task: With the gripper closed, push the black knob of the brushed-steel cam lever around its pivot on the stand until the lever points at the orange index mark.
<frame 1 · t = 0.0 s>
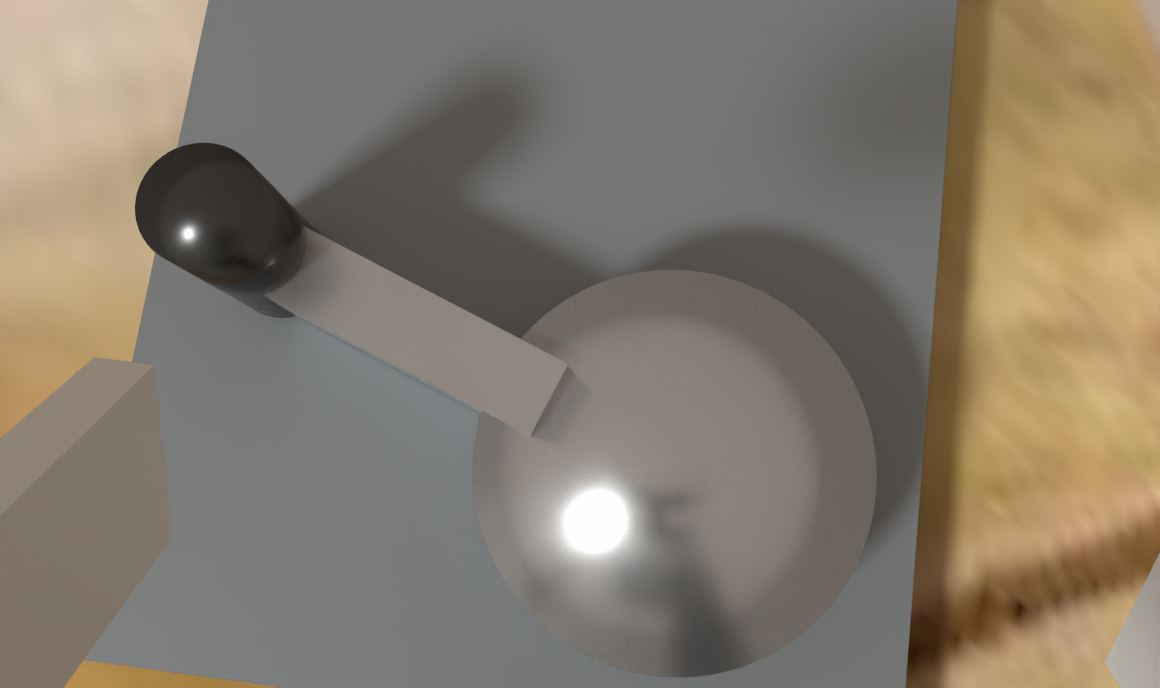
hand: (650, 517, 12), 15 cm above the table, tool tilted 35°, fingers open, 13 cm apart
stand: (658, 470, 27), on the table
cam lever: (523, 385, 23), point 5 cm above the table, hinge at 70.0°
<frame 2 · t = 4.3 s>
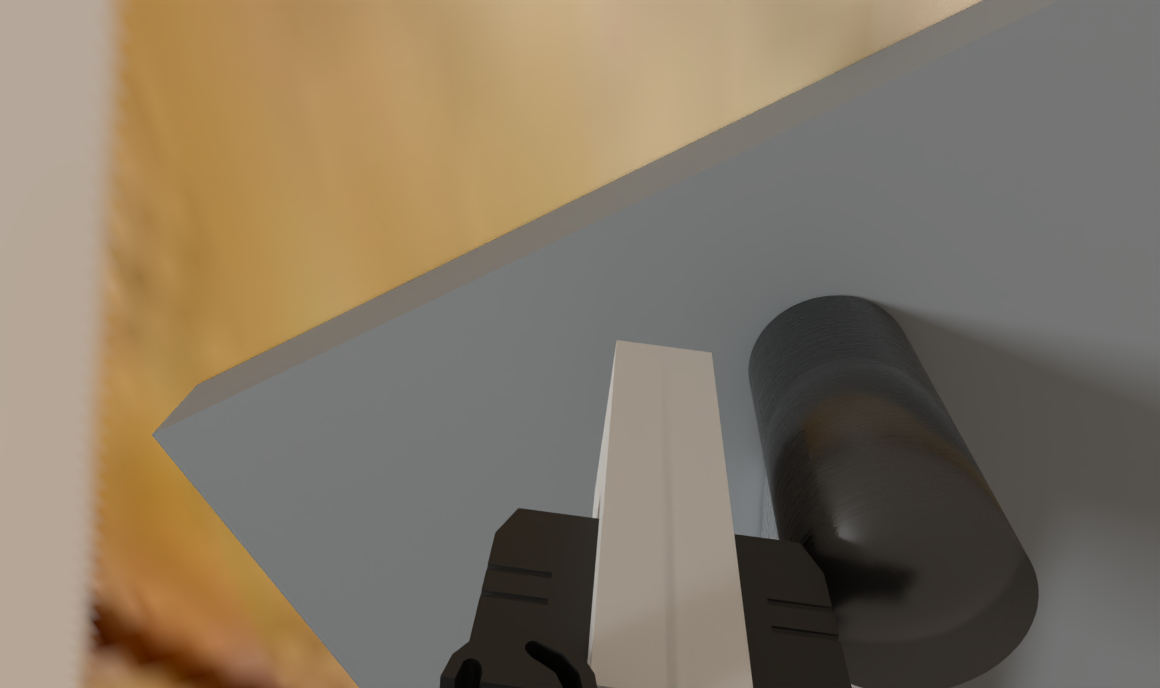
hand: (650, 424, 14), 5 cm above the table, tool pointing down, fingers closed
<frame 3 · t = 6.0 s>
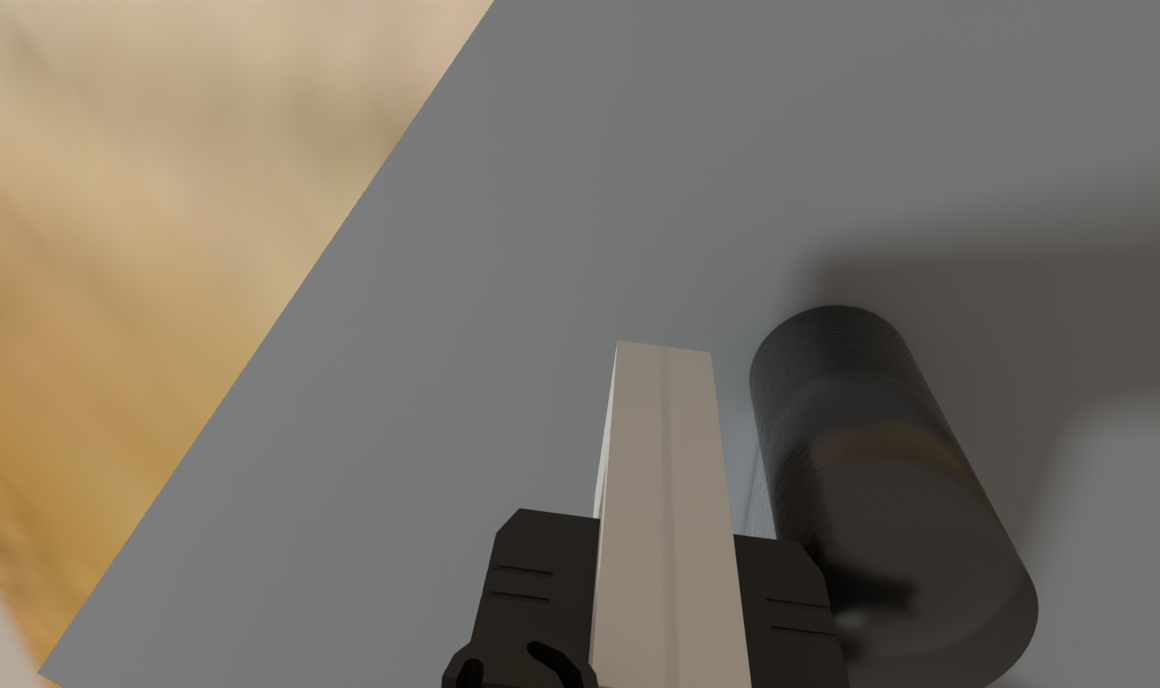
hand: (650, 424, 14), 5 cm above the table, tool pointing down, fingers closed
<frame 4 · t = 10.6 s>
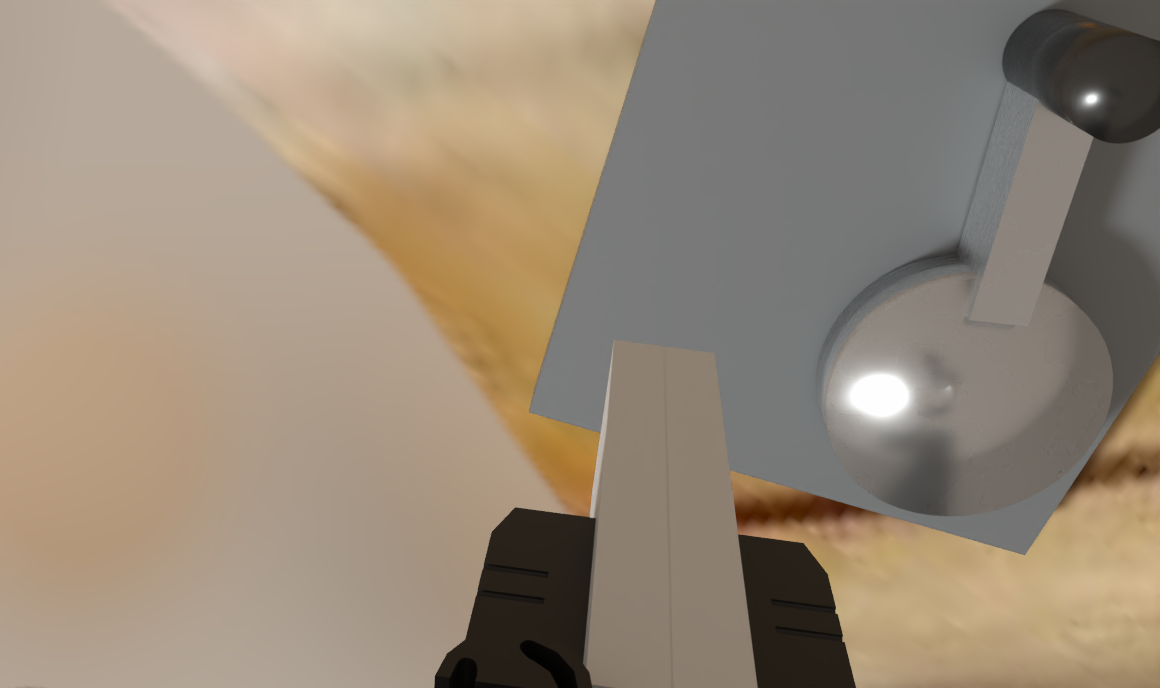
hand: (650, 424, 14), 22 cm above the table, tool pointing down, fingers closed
stand: (933, 348, 38), on the table
cam lever: (1006, 307, 31), point 5 cm above the table, hinge at 11.2°
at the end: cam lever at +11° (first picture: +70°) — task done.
